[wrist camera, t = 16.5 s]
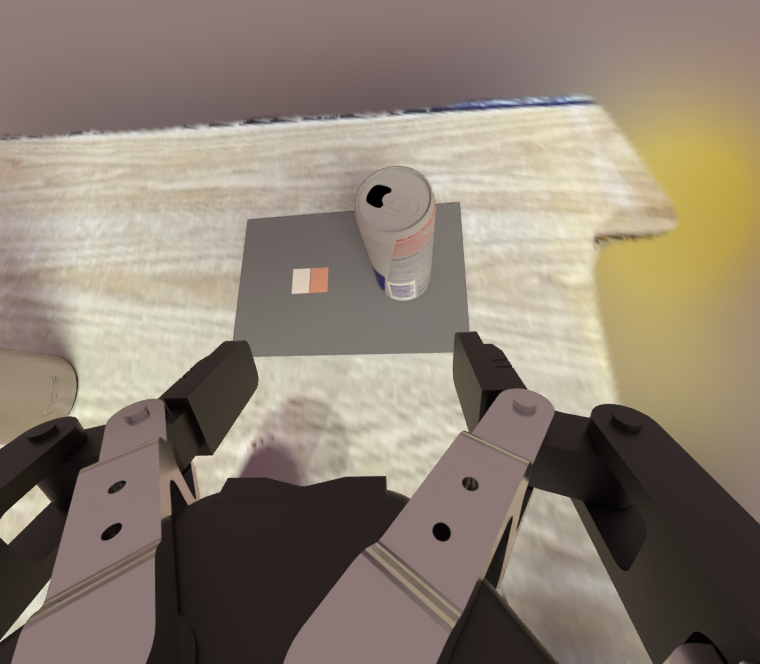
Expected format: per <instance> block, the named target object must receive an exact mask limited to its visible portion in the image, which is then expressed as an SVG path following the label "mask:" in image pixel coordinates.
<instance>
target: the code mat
mask: <svg viewBox="0 0 760 664" xmlns="http://www.w3.org/2000/svg"><path fill="white" fill-rule="evenodd" d="M456 332H469V319H468V305H467V292H466V278H465V264H464V251H463V237H462V224H461V210H460V203H448V204H436V212H435V226H434V239H433V253H432V267H431V278H430V283H429V285H428V287H427V289H426V290H425V291H424V292H423V293H422V294H421V295H420V296H418V297H417V298H415V299H412V300H408V301H398V300H394V299H391V298H390V297H388V296H386V295H385V294H384V293H383V291H382V290H381V289H380V286H379V284H378V281H377V278H376V276H375V273H374V270H373V267H372V264H371V261H370V258H369V256H368V253H367V250H366V247H365V244H364V241H363V238H362V236H361V233H360V230H359V227H358V224H357V221H356V216H355V211H350V212H338V213H325V214H313V215H301V216H289V217H276V218H264V219H252V220H247V228H246V236H245V245H244V253H243V261H242V270H241V278H240V286H239V295H238V303H237V311H236V320H235V328H234V336H233V341H239V340H245V341H247V342H248V343H249V346H250V349H251V352H252V355H253V357H260V356H306V355H353V354H399V353H445V352H454V336H455V333H456Z"/></svg>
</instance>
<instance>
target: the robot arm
mask: <svg viewBox="0 0 760 664" xmlns="http://www.w3.org/2000/svg"><path fill="white" fill-rule="evenodd" d="M453 380H454V385H455V388H456V391H457V394H458V398H459V401H460V404H461V407H462V411H463V414H464V417H465V420H466V424H467V427H468V430H469V432H466V431H462V432H461V433H460V434H459V435H458V436H457V438H456V439H455V440H454V442H453V443H452V444H451V446H450V447H449V448H448V450H447V451H446V452H445V454H444V455H443V456H442V458H441V459H440V460H439V462H438V463H437V464H436V466H435V467H434V468H433V470H432V471H431V472H430V474H429V475H428V476H427V478H426V479H425V480H424V482H423V483H422V484H421V486H420V487H419V488H418V490H417V491H416V492H415V494H414V495H413V496H412V498H411V499H410V498H408V497H406V496H404V495H402V494H399V493H397V492H394V491H390V490H387V481H386V476H363V477H343V478H339V479H335V480H330V481H326V482H322V483H318V484H314V485H309V486H297V485H292V484H289V483H285V482H281V481H277V480H273V479H269V478H228V479H227V481H226V483H225V484H224V486H223V488H222V490H221V492H219V493H216V494H213V495H210V496H207V497H204V498H202V499H200V493H199V487H198V481H197V475H196V469H195V466H194V464H193V462H192V460H193V459H194V457H195V456H208V455H213V454H214V452H215V451H216V449H217V448H218V446H219V445H220V443H221V442H222V440H223V439H224V437H225V436H226V434H227V433H228V431H229V430H230V428H231V427H232V425H233V424H234V422H235V421H236V419H237V418H238V416H239V415H240V413H241V412H242V410H243V409H244V407H245V406H246V404H247V403H248V401H249V400H250V398H251V397H252V395H253V394H254V392H255V390H256V389H257V386H258V373H257V369H256V366H255V362H254V359H253V355H252V352H251V349H250V346H249V343H248V342H247V341H245V340H239V341H225V342H223V343H222V344H221V345H220V346H219V347H218V348H217V349H216V350H215V351H213V352H212V353H211V354H210V355H209V356H207V357H205V358H204V359H202V360H200V361H198V362H197V363H196V364H195V365H194V366H193V367H192V368H191V369H190V371H188V372H187V373H185V374H184V375H183V378H180V379H179V380H178V381H177V382H176V383H175V384H173V385H172V386H171V387H170V388H169V389H168V390H167V391H166V392H165V393H164V394H163V395H161V396H160V397H159V398H158V399H147V400H143V401H139V402H136V403H134V404H131V405H129V406H127V407H125V408H123V409H121V410H120V411H118V412H117V413H115V414H114V415H113V416H112V417H111V418H110V419H109V420H108V422H107V423H106V425H102V426H98V427H93V428H89V429H84V428H83V427H82V425H81V424H80V422H79V421H78V419H77V418H75V417H67V416H68V414H69V412H70V410H71V408H72V406H73V403H74V400H75V396H76V389H77V385H76V376H75V373H74V370H73V368H72V367H71V365H70V364H69V363H68V362H67V361H66V360H64V359H62V358H61V357H57V356H53V355H45V354H38V353H31V352H24V351H16V350H10V349H3V348H0V445H2V444H7V445H5V446H4V447H3V448H1V449H0V519H1V517H2V516H3V515H4V513H5V512H6V511H7V510H8V509H10V508H11V507H12V506H13V505H14V504H15V503H16V502H17V501H18V500H20V499H21V498H22V497H23V496H24V495H25V494H26V493H27V492H29V491H30V490H31V489H32V488H33V487H34V486H35V485H36V484H37V485H38V487H39V488H40V489H41V490H42V491H43V492H44V494H45V495H46V496H47V497H48V498H49V500H50V501H51V503H50V504H49V505H48V506H47V507H46V508H45V509H44V510H43V511H42V512H41V513H40V514H39V515H38V516H37V517H36V518H35V519H34V520H33V521H32V522H31V523H30V524H29V525H28V526H27V527H26V528H25V529H24V530H23V531H22V532H21V533H20V534H19V535H18V536H17V537H16V538H15V539H13V540H12V541H11V542H10V543H9V544H8V545H7V544H6V543H5V542H4V541H3V540H2V539H1V538H0V640H1V639H2V637H3V636H4V635H5V634H6V632H7V631H8V630H9V629H10V628H11V626H12V625H13V624H14V623H15V621H16V620H17V619H18V618H19V616H20V615H21V614H22V613H23V612H24V610H25V609H26V608H27V607H28V605H29V604H30V603H31V602H32V601H33V599H34V598H35V597H36V596H37V594H38V593H39V592H40V591H41V590H42V588H43V587H44V586H45V585H46V583H47V582H48V581H49V580H50V579H51V580H50V584H49V588H48V591H47V595H46V599H45V601H44V603H43V605H42V607H41V608H40V609H39V610H38V611H37V612H35V613H34V614H33V615H32V616H31V617H30V618H29V619H28V620H27V622H26V623H25V624H24V625H23V626H21V627H20V628H19V629H17V630H16V631H14V632H13V633H12V634H10V635H9V636H8V637H6V638H5V639H4V640H2V641H1V642H0V664H559V663H558V662H557V661H556V660H555V659H554V658H553V656H552V655H551V654H550V653H549V652H548V651H547V649H546V648H545V647H544V646H543V645H542V644H541V642H540V641H539V640H538V639H537V638H536V637H535V635H534V634H533V633H532V632H531V631H530V630H529V628H528V627H527V626H526V625H525V624H524V623H523V621H522V620H521V619H520V618H519V617H518V615H517V614H516V613H515V612H514V611H513V610H512V608H511V607H510V606H509V605H508V604H507V603H506V601H505V600H504V599H503V598H502V597H501V596H500V594H499V593H498V590H499V587H500V584H501V582H502V579H503V576H504V574H505V571H506V568H507V565H508V562H509V559H510V555H511V552H512V549H513V546H514V543H515V540H516V537H517V535H518V532H519V530H520V527H521V525H522V522H523V519H524V517H525V514H526V512H527V509H528V506H529V504H530V501H531V499H532V496H533V494H534V491H535V488H537V489H541V490H545V491H548V492H552V493H556V494H559V495H563V496H567V497H570V498H571V500H572V502H573V504H574V506H575V508H576V510H577V512H578V514H579V516H580V518H581V520H582V522H583V524H584V526H585V528H586V530H587V532H588V534H589V536H590V538H591V540H592V542H593V544H594V546H595V548H596V550H597V552H598V554H599V556H600V558H601V560H602V562H603V564H604V566H605V568H606V570H607V572H608V574H609V576H610V578H611V580H612V582H613V584H614V586H615V588H616V590H617V592H618V594H619V596H620V598H621V600H622V602H623V604H624V606H625V608H626V610H627V613H628V615H629V617H630V619H631V621H632V623H633V625H634V627H635V629H636V631H637V633H638V635H639V637H640V639H641V641H642V643H643V645H644V647H645V649H646V651H647V653H648V655H649V657H650V659H651V661H652V663H653V664H760V525H759V523H758V522H757V521H756V520H755V519H754V518H753V517H752V516H751V515H750V514H748V512H746V510H745V509H744V508H743V507H741V506H740V504H738V502H737V501H735V500H734V499H733V498H732V497H731V496H730V495H729V494H728V493H727V492H726V491H725V490H724V489H723V488H722V487H721V486H720V485H719V484H718V483H717V482H716V481H715V480H714V479H713V478H712V477H711V476H710V475H709V474H708V473H707V472H706V471H705V470H704V469H703V468H702V467H701V466H700V465H699V464H698V463H697V462H696V461H695V460H694V459H693V458H692V457H691V456H690V455H689V454H688V453H687V452H686V451H685V450H684V449H683V448H682V447H681V446H680V445H679V444H678V443H677V442H676V441H675V440H674V439H673V438H672V437H671V436H670V435H669V434H668V433H667V432H666V431H665V430H664V429H663V428H662V427H661V426H660V425H659V424H658V423H656V422H655V421H654V420H653V419H651V418H650V417H649V416H647V415H645V414H643V413H641V412H639V411H637V410H634V409H632V408H629V407H626V406H621V405H616V404H603V405H599V406H596V407H595V408H594V409H593V410H592V412H591V415H590V418H588V417H583V416H577V415H572V414H567V413H562V412H558V411H555V410H554V407H553V405H552V404H551V402H550V401H549V400H548V399H546V398H545V397H544V396H542V395H540V394H538V393H536V392H533V391H530V390H527V388H526V387H525V385H524V383H523V382H522V380H521V379H520V377H519V376H518V374H517V373H516V371H515V370H514V368H512V365H511V364H510V362H509V361H508V359H507V357H506V356H505V354H504V353H503V351H502V350H500V349H499V348H497V347H496V346H494V345H493V344H483V342H482V340H481V339H480V337H479V335H478V333H477V332H476V331H473V332H456V333H455V336H454V353H453Z"/></svg>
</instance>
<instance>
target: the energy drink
mask: <svg viewBox="0 0 760 664" xmlns="http://www.w3.org/2000/svg"><path fill="white" fill-rule="evenodd" d="M435 212H436V201H435V197H434V194H433V192H432V188H431V185H430V184H429V182H428V180H427V179H426V178H425V177H424V175H422V174H421V173H420V172H418V171H416V170H414V169H412V168H408V167H404V166H392V167H387V168H383V169H381V170H378V171H376V172H375V173H373V174H371V175H370V176H369V177H368V178H367V179H366V180H365V181H364V182H363V183H362V185H361V186H360V188H359V190H358V192H357V196H356V206H355V216H356V221H357V224H358V227H359V230H360V233H361V236H362V238H363V241H364V244H365V247H366V250H367V253H368V256H369V258H370V261H371V264H372V267H373V270H374V273H375V276H376V278H377V281H378V284H379V286H380V289H381V290H382V291H383V293H384V294H385V295H386V296H388V297H390V298H391V299H394V300H398V301H408V300H412V299H415V298H417V297H418V296H420V295H421V294H422V293H423V292H424V291H425V290H426V289H427V287H428V285H429V283H430V278H431V267H432V253H433V239H434V226H435Z"/></svg>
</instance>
